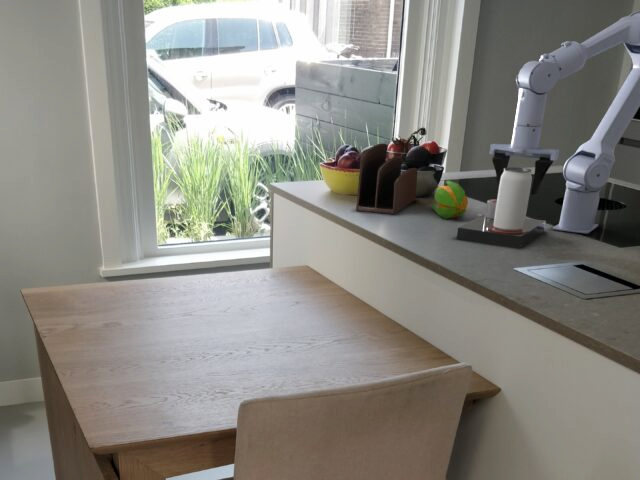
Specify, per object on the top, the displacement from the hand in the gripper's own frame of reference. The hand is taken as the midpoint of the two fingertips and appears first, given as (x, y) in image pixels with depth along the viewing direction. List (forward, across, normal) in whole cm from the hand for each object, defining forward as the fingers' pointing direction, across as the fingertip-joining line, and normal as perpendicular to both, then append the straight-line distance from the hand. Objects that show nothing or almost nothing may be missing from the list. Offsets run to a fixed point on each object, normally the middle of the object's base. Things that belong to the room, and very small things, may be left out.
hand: (517, 192), depth 184 cm
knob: (+6, -5, +1) cm, 8 cm away
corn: (+9, -20, +10) cm, 24 cm away
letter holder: (+9, -36, +10) cm, 38 cm away
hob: (+9, -1, -4) cm, 10 cm away
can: (+6, +2, -8) cm, 10 cm away
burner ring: (+6, +2, -8) cm, 10 cm away
